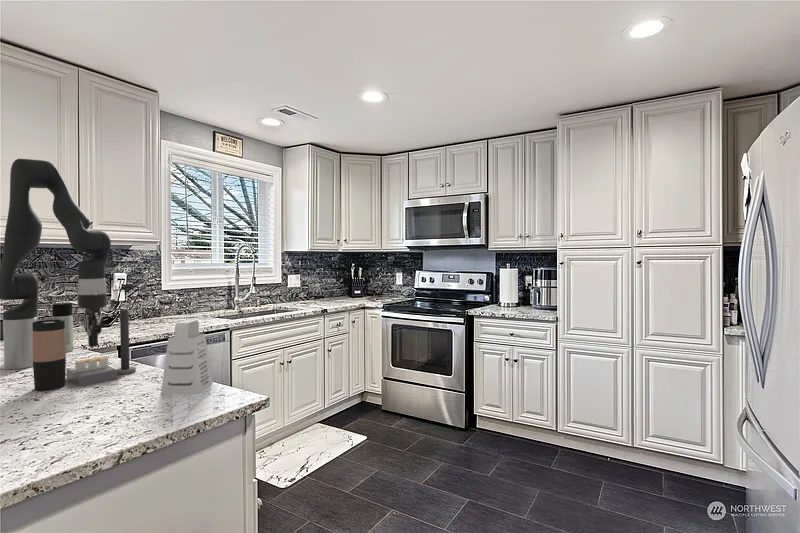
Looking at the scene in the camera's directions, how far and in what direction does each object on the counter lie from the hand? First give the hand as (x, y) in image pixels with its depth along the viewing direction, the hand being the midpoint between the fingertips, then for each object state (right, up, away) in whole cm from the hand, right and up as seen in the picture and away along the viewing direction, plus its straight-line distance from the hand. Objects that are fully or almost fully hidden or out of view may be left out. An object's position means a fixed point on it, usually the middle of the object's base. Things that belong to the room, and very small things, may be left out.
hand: (93, 346), depth 138 cm
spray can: (-40, -10, +39) cm, 57 cm away
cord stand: (+6, -10, +7) cm, 14 cm away
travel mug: (-6, -11, -9) cm, 16 cm away
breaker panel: (0, -10, 0) cm, 10 cm away
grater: (+36, -11, -10) cm, 39 cm away
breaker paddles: (0, -7, 0) cm, 7 cm away
